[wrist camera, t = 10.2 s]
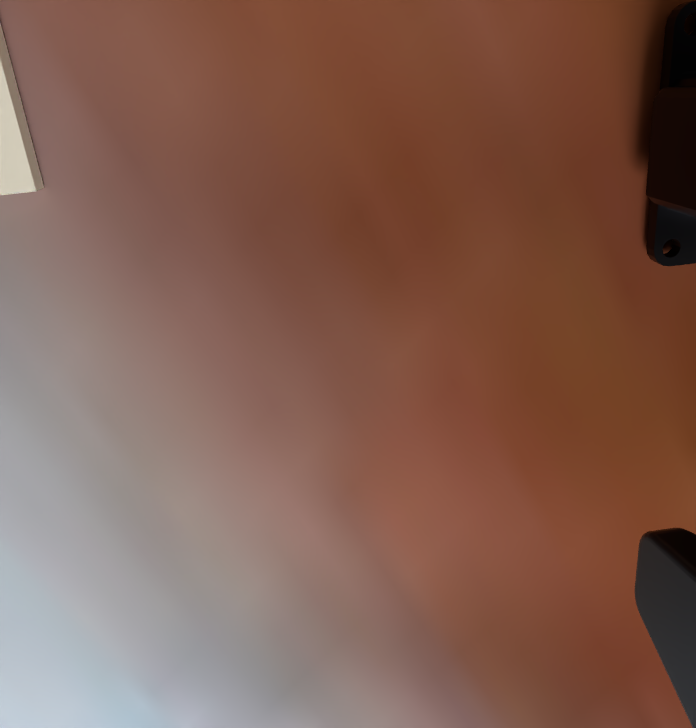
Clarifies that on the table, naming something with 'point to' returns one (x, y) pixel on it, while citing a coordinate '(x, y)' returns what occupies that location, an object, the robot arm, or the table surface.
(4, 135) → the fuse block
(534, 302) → the table surface
